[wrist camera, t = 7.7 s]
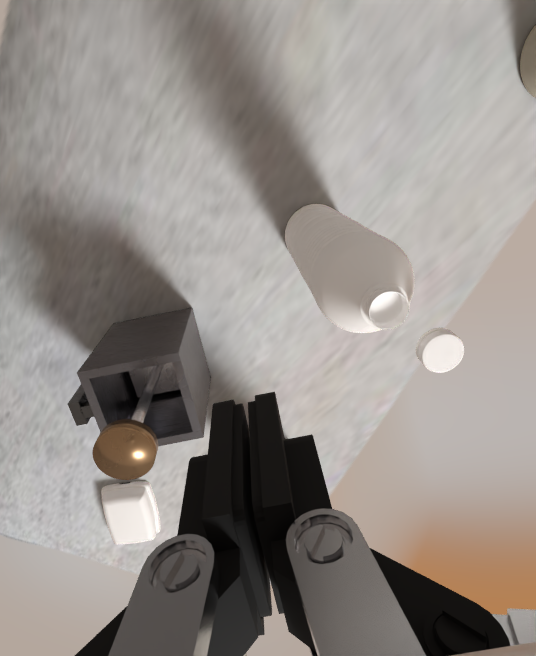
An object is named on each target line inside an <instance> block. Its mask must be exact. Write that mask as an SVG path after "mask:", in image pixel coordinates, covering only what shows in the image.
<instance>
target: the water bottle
mask: <svg viewBox="0 0 536 656" xmlns="http://www.w3.org/2000/svg"><path fill="white" fill-rule="evenodd" d="M285 242H286V246H287V249H288V251H289V253H290V254H291V256H292V258H293V260H294V262H295V263H296V265H297V267H298V269H299V271H300V273H301V275H302V277H303V278H304V280H305V281H306V283H307V285H308V287H309V289H310V291H311V292H312V294H313V296H314V298H315V300H316V303H317V305H318V306H319V308H320V310H321V311H322V313H323V314H324V315H325V317H326V318H327V319H328V320H329V321H331V322H332V323H333V324H335V325H336V326H338V327H340V328H342V329H344V330H347V331H350V332H355V333H370V332H375V331H379V330H381V329H382V330H390V329H394V328H396V327H398V326H400V325H401V324H402V323H403V322H404V321H405V320H406V318H407V316H408V313H409V304H410V302H411V299H412V296H413V292H414V284H415V281H414V272H413V268H412V265H411V263H410V261H409V259H408V257H407V255H406V254H405V253H404V251H403V250H402V249H401V248H400V247H399V246H398V245H396V244H395V243H394V242H392V241H391V240H389V239H387V238H385V237H383V236H381V235H379V234H377V233H375V232H373V231H372V230H370V229H368V228H366V227H364V226H363V225H361V224H360V223H358V222H356V221H354V220H352V219H351V218H349V217H347V216H345V215H343V214H342V213H340V212H338V211H336V210H335V209H333V208H331V207H329V206H326V205H323V204H310V205H307V206H304V207H302V208H300V209H299V210H297V211H296V212H295V213H294V214H293V215H292V216H291V218H290V219H289V221H288V223H287V226H286V230H285ZM429 333H430V334H429ZM425 336H426V337H425ZM463 354H464V345H463V343H462V341H461V340H460V338H459V337H457V336H456V335H455V334H454V333H453V332H451V331H450V330H448V329H445V328H435V329H432V330H429V331H428V332H426V333H425V334H423V335H422V337H421V338H420V339H419V341H418V343H417V346H416V355H417V357H418V359H419V360H420V362H421V363H422V364H423V365H424V366H425V367H426V368H427V369H428V370H430V371H432V372H437V373H442V372H446V371H449V370H451V369H453V368H454V367H456V366H457V365H458V364H459V362H460V361H461V359H462V357H463Z"/></svg>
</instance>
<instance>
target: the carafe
mask: <svg viewBox="0 0 536 656" xmlns="http://www.w3.org/2000/svg"><path fill="white" fill-rule="evenodd" d="M171 362H172V364H173V367H174V371H175V374H176V377H177V381H178V384H179V387H180V389H178V390H173V391H168V392H163V393H158V394H153V396H152V399H151V402H150V404H149V407H148V410H147V413H146V416H145V418H144V421H143V423H144V424H145V425H147V426H148V427H150V428H151V429H152V431H153V432H154V433H155V435H156V437H157V440H158V446H162V445H167V444H172V443H177V442H182V441H188V440H193V439H198V438H203V437H204V429H205V421H206V413H207V405H208V397H209V389H210V381H211V376H210V372H209V368H208V365H207V361H206V357H205V354H204V350H203V346H202V342H201V339H200V335H199V331H198V328H197V324H196V320H195V316H194V313H193V309H192V308H188V309H183V310H178V311H173V312H168V313H163V314H158V315H153V316H148V317H143V318H138V319H133V320H128V321H123V322H118V323H114V324H113V325H112V326H111V328H110V329H109V330H108V332H107V333H106V334H105V336H104V337H103V338H102V340H101V341H100V342H99V344H98V345H97V346H96V348H95V349H94V350H93V352H92V353H91V354H90V356H89V357H88V358H87V360H86V361H85V362H84V364H83V365H82V366H81V368H80V369H79V371H78V372H77V374H78V376H79V379H80V382H81V385H80V387H79V388H78V390H77V391H76V393H75V394H74V396H73V397H72V398H71V400H70V401H69V403H68V406H69V408H70V411H71V413H72V416H73V418H74V420H75V423H76V425H77V426H78V425H83V424H87V423H88V421H89V419H90V418H91V417H95V419H96V422H97V424H98V427H99V429H100V432H101V431H102V430H103V428H104V427H105V426H106V425H108V424H109V423H111V422H113V421H116V420H121V419H132V417H133V414H134V412H135V409H136V407H137V404H138V402H139V400H140V397H137V394H136V391H135V388H134V385H133V382H132V380H131V377H130V374H129V371H131V370H136V369H141V368H146V367H151V366H156V365H161V364H166V363H171Z"/></svg>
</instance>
